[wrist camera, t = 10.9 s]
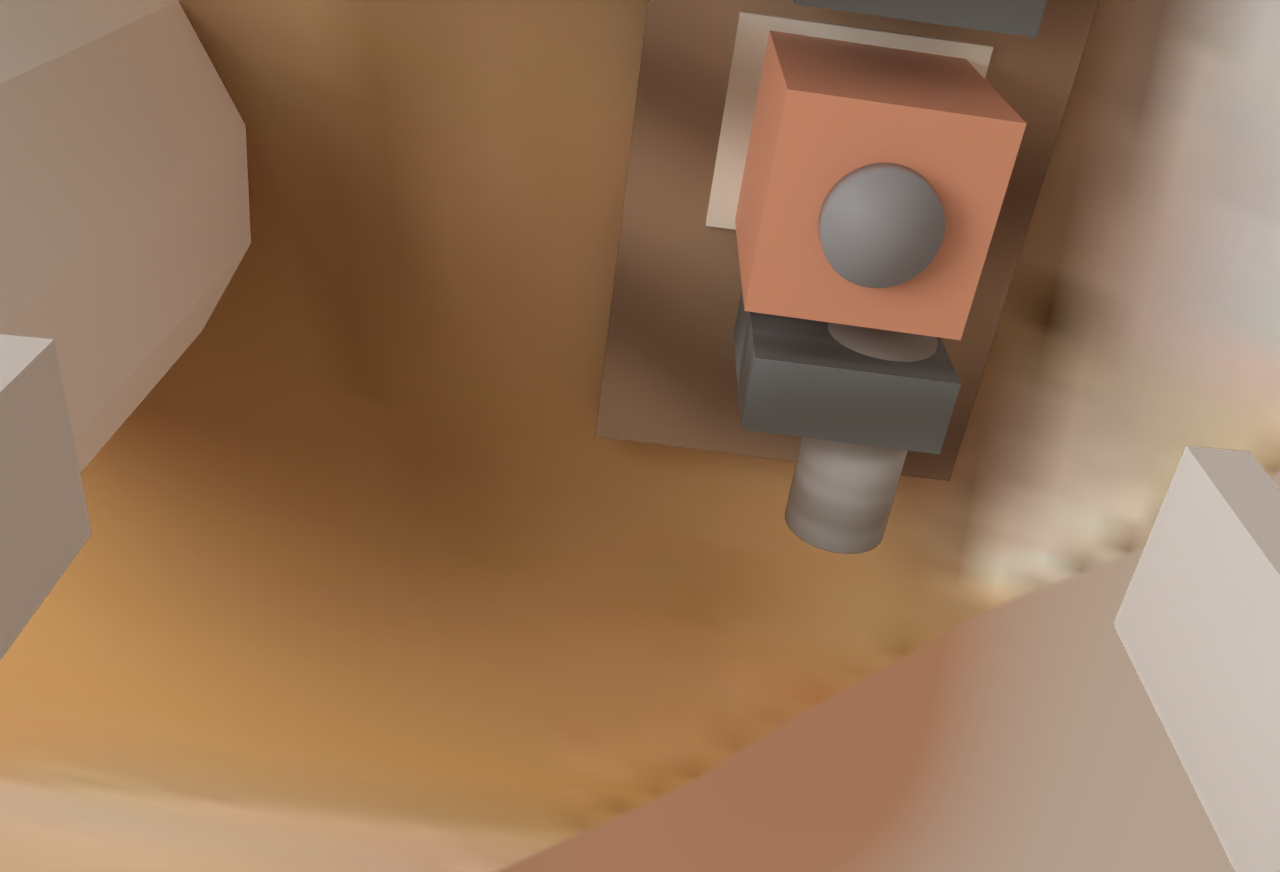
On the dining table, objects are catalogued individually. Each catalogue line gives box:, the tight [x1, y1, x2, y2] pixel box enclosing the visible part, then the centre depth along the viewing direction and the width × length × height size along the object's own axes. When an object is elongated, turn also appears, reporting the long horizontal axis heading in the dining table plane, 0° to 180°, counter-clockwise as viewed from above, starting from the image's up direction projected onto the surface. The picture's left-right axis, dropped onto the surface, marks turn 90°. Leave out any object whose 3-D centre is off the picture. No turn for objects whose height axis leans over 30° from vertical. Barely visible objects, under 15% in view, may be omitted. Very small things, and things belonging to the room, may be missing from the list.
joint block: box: [735, 30, 1027, 340], centre depth 27 cm, size 5×5×7 cm
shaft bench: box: [595, 0, 1099, 554], centre depth 28 cm, size 20×11×7 cm, turn 173°
